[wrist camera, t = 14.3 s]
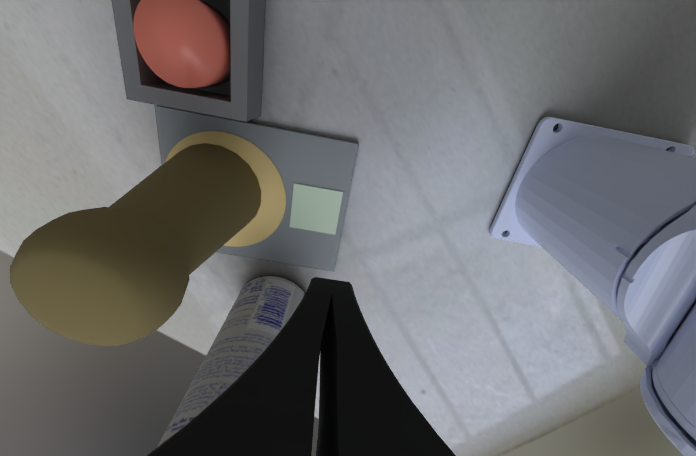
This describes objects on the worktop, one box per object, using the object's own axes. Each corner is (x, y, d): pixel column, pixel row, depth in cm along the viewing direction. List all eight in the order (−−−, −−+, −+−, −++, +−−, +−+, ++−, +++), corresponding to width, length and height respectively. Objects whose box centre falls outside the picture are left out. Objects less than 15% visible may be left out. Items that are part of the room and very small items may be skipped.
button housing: (266, -10, 15) (249, -26, 12) (261, 115, 17) (246, 121, 15) (143, -37, 14) (102, -58, 12) (157, 96, 17) (126, 99, 15)
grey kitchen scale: (358, 143, 18) (358, 144, 18) (334, 268, 22) (333, 272, 22) (158, 105, 17) (153, 105, 17) (173, 241, 22) (169, 245, 21)
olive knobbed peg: (165, 216, 20) (-13, 349, 10) (170, 128, 17) (-66, 198, 8) (252, 241, 21) (163, 387, 11) (270, 161, 18) (171, 263, 8)
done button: (239, 9, 15) (219, -2, 12) (238, 92, 16) (221, 95, 14) (160, -7, 14) (127, -22, 12) (168, 78, 16) (139, 79, 14)
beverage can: (229, 303, 24) (75, 578, 11) (264, 259, 22) (125, 534, 9) (285, 334, 26) (211, 610, 13) (323, 296, 24) (281, 579, 10)
